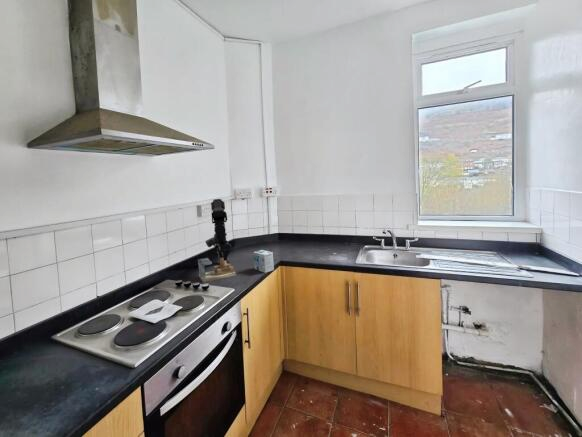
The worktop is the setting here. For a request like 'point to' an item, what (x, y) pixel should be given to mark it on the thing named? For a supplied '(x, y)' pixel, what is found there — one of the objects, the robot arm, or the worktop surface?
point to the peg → (223, 263)
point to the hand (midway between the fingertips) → (222, 258)
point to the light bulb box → (263, 261)
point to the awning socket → (217, 272)
